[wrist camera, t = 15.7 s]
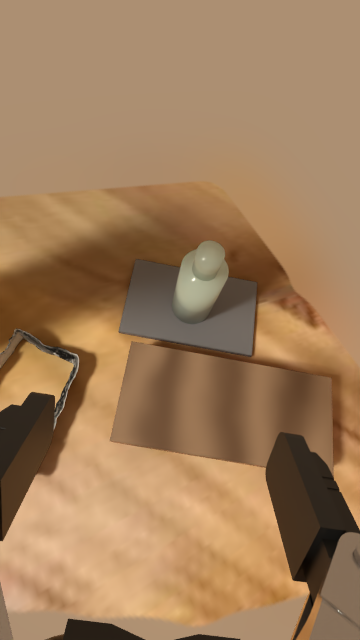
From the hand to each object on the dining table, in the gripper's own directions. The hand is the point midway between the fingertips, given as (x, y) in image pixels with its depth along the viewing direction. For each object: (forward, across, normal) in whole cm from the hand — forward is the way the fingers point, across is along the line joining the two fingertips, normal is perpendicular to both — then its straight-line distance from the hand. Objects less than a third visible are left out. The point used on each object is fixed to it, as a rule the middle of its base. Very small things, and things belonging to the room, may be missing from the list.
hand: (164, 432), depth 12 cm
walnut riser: (+22, -8, +15) cm, 27 cm away
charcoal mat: (+30, -3, +6) cm, 31 cm away
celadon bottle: (+30, -3, +6) cm, 30 cm away
